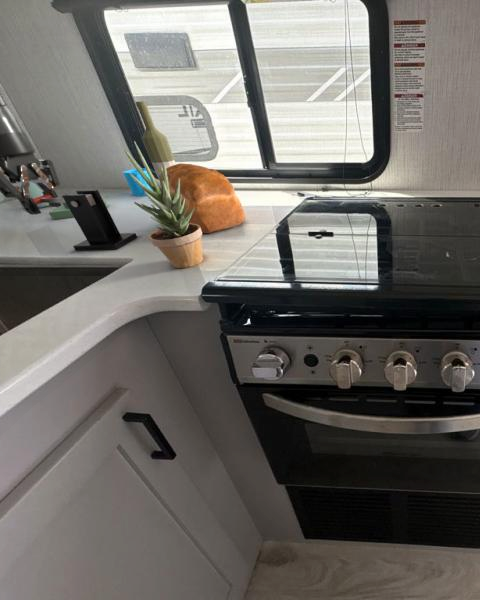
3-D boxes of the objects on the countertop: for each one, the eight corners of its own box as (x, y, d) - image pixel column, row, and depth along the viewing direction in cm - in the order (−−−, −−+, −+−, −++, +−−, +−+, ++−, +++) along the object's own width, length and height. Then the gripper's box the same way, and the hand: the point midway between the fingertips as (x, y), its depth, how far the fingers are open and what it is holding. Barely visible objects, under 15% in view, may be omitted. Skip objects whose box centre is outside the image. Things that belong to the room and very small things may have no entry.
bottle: (180, 199, 117) (143, 101, 101) (161, 200, 118) (121, 102, 101) (191, 194, 123) (158, 101, 107) (173, 194, 123) (137, 101, 107)
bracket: (75, 250, 80) (43, 198, 73) (99, 238, 87) (72, 188, 80) (116, 249, 80) (88, 196, 74) (137, 237, 87) (113, 187, 80)
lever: (30, 208, 76) (24, 197, 75) (49, 202, 80) (44, 192, 79) (84, 208, 76) (79, 198, 75) (100, 202, 81) (96, 192, 79)
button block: (53, 219, 101) (45, 206, 99) (63, 211, 109) (56, 198, 107) (100, 213, 106) (94, 200, 104) (107, 205, 113) (101, 193, 111)
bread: (202, 237, 86) (179, 175, 77) (165, 217, 100) (142, 163, 92) (252, 222, 95) (236, 165, 86) (211, 206, 109) (194, 156, 101)
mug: (133, 192, 128) (123, 170, 123) (157, 189, 132) (148, 167, 127) (133, 199, 119) (122, 175, 115) (159, 195, 123) (150, 172, 119)
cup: (26, 206, 114) (7, 176, 109) (56, 202, 119) (38, 172, 113) (25, 211, 109) (4, 180, 104) (55, 206, 114) (38, 176, 108)
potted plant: (157, 263, 73) (99, 141, 60) (201, 249, 79) (158, 136, 66) (173, 277, 67) (114, 145, 54) (219, 261, 73) (176, 139, 60)
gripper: (13, 127, 76) (55, 201, 85) (-58, 135, 64) (0, 220, 73) (46, 127, 76) (85, 201, 85) (-19, 134, 64) (35, 219, 73)
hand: (46, 209), depth 79 cm, fingers closed on lever, 5 cm apart
